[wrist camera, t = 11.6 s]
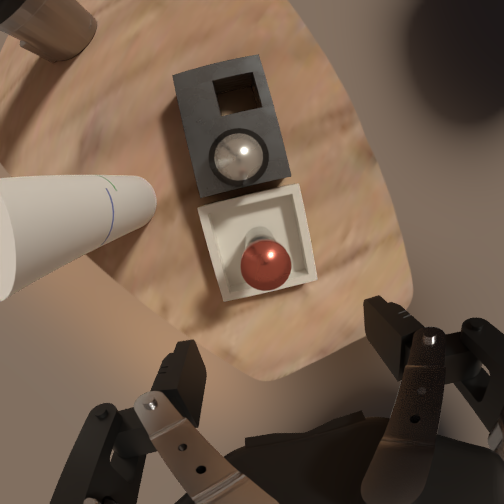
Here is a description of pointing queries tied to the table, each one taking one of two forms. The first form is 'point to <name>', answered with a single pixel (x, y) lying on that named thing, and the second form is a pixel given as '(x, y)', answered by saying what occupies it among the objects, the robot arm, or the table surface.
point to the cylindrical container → (64, 221)
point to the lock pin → (264, 260)
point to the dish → (247, 217)
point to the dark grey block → (230, 127)
